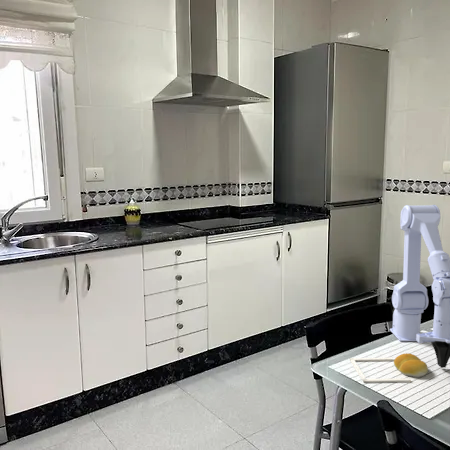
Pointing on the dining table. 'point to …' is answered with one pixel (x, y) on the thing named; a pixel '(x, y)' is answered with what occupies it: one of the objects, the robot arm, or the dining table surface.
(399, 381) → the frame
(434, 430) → the dining table surface
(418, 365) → the bread roll
